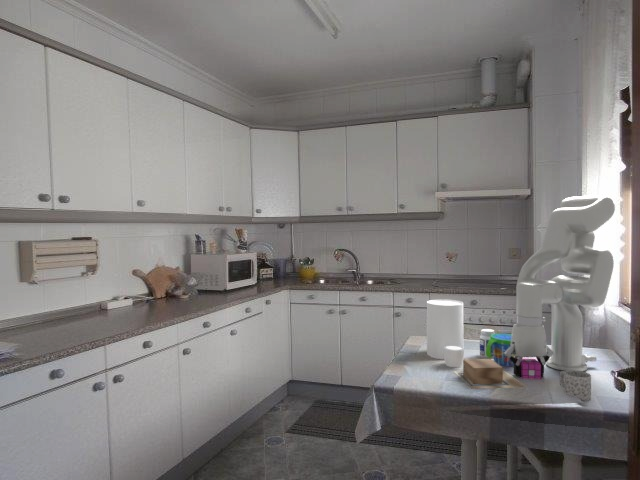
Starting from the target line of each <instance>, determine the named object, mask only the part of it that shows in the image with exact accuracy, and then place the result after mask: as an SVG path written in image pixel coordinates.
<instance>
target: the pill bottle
mask: <svg viewBox="0 0 640 480" xmlns="http://www.w3.org/2000/svg"><path fill="white" fill-rule="evenodd" d="M480 334H481V335H480V336H479V356H480V357H481V358H483V359H489V358H488V357H487V356H486V347H487V344H488V342H489V340H490V336H491V335H492V334H495V330H494V329H491V328H482V329H481V330H480ZM491 356H492V357H491V358H490V359H494V356H493V348H492V345H491Z"/></svg>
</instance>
